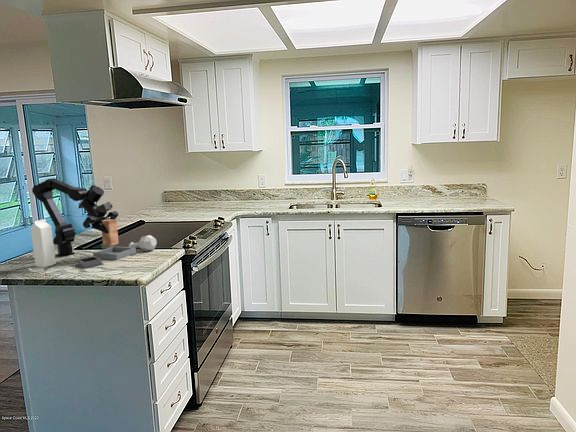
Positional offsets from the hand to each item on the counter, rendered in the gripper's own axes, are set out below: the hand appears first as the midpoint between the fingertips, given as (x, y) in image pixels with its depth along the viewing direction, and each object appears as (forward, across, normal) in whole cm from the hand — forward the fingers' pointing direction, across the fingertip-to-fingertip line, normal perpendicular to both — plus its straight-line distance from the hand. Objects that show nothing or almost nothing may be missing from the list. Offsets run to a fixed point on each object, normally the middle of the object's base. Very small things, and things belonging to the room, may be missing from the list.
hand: (111, 231), depth 209 cm
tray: (+8, +3, +11) cm, 14 cm away
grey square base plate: (+8, -14, +10) cm, 20 cm away
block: (+4, 0, +5) cm, 6 cm away
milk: (-6, -20, +26) cm, 33 cm away
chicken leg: (+10, +19, +9) cm, 24 cm away
